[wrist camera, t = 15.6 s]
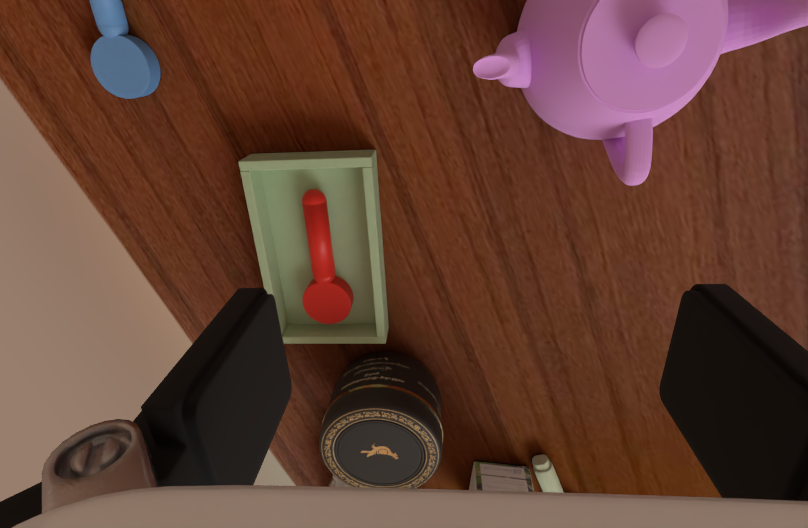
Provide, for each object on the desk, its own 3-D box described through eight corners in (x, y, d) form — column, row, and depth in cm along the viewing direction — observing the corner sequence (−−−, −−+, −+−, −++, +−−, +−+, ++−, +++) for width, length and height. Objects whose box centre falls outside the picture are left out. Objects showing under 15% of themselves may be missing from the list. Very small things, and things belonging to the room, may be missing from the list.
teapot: (462, 64, 30) (470, 70, 22) (634, -146, 25) (725, -236, 17) (582, 179, 33) (628, 221, 25) (760, 11, 28) (889, -4, 20)
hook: (560, 563, 50) (503, 473, 45) (559, 549, 51) (503, 459, 46) (610, 558, 48) (556, 463, 43) (607, 543, 49) (555, 449, 44)
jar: (318, 358, 41) (295, 421, 35) (422, 332, 39) (419, 392, 33) (359, 436, 45) (345, 506, 38) (455, 416, 43) (459, 486, 36)
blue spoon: (55, -99, 28) (31, -108, 26) (116, -104, 28) (96, -114, 26) (114, 97, 33) (97, 100, 31) (167, 95, 32) (153, 98, 31)
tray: (250, 153, 34) (237, 161, 32) (375, 149, 33) (371, 156, 31) (284, 327, 40) (275, 344, 38) (388, 327, 40) (385, 344, 37)
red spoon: (289, 186, 34) (282, 193, 33) (341, 185, 34) (336, 192, 32) (310, 315, 39) (304, 327, 37) (355, 315, 39) (352, 327, 37)
